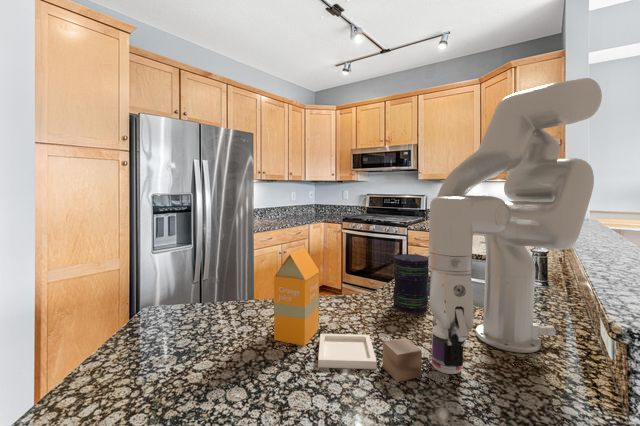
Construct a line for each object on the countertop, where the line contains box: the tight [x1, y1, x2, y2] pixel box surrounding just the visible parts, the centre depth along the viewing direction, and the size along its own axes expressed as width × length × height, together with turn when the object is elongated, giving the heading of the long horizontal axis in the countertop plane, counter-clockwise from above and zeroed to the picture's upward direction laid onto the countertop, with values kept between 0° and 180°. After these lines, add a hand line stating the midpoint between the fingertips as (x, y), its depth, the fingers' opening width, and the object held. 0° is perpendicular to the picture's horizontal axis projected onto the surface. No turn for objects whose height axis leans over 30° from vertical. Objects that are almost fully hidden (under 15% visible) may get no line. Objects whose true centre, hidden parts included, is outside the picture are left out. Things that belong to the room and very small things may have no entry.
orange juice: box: [273, 247, 320, 347], centre depth 71 cm, size 8×9×20 cm
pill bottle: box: [430, 319, 463, 375], centre depth 58 cm, size 5×5×10 cm
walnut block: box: [382, 337, 423, 383], centre depth 56 cm, size 5×5×5 cm
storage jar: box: [392, 253, 430, 315], centre depth 89 cm, size 10×10×15 cm
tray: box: [317, 333, 378, 370], centre depth 63 cm, size 11×11×2 cm
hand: (446, 355), depth 58 cm, fingers closed on pill bottle, 5 cm apart
